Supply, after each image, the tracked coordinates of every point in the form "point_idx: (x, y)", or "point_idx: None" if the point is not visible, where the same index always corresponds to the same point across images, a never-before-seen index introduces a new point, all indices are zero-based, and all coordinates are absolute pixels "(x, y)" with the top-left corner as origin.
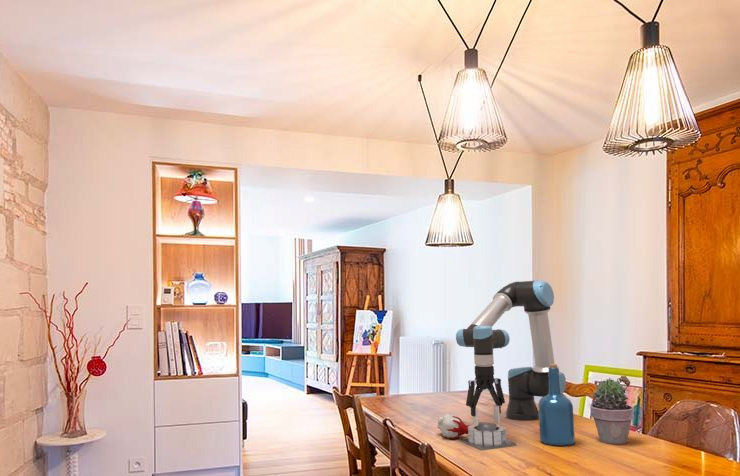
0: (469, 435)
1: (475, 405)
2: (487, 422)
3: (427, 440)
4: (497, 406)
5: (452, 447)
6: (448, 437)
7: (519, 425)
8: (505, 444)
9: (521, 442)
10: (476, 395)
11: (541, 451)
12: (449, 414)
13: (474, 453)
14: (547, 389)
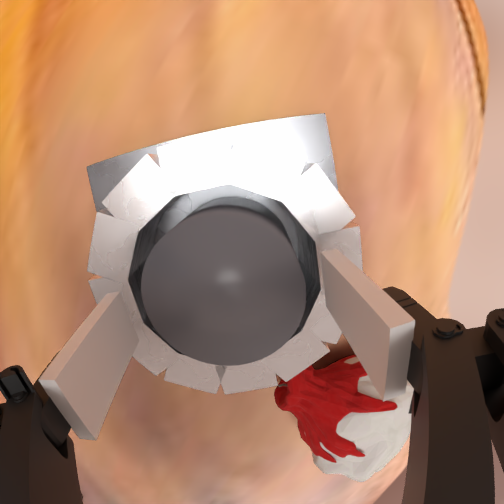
0: None
1: (437, 346)
2: (192, 350)
3: None
4: (57, 377)
5: (422, 217)
6: None
7: None
8: (151, 152)
9: (53, 223)
10: (481, 493)
11: (46, 51)
12: (368, 468)
13: (371, 77)
14: None
